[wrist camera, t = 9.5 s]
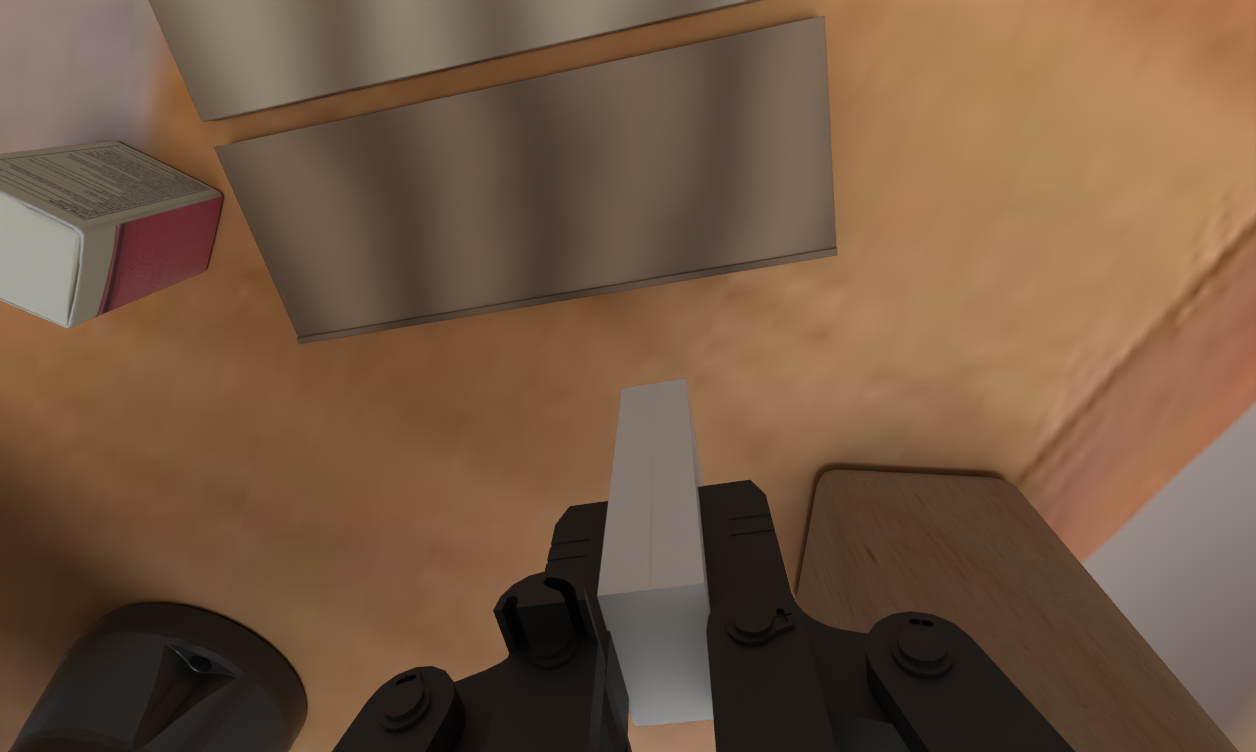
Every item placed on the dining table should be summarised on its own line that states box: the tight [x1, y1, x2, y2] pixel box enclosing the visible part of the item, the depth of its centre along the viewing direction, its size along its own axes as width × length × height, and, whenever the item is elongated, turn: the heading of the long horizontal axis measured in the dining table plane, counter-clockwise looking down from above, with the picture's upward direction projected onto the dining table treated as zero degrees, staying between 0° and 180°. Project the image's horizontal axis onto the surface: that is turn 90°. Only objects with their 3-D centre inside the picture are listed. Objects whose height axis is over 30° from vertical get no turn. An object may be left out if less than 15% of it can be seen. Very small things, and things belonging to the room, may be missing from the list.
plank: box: [214, 16, 837, 344], centre depth 27 cm, size 25×9×1 cm, turn 101°
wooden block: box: [796, 469, 1239, 752], centre depth 26 cm, size 10×10×20 cm
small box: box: [0, 141, 223, 328], centre depth 25 cm, size 5×4×8 cm
